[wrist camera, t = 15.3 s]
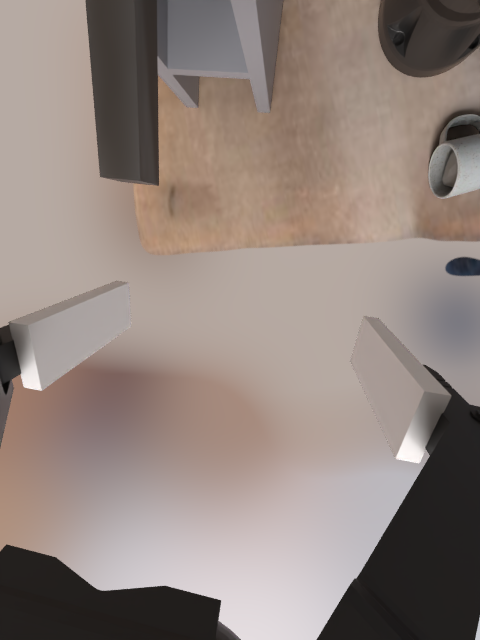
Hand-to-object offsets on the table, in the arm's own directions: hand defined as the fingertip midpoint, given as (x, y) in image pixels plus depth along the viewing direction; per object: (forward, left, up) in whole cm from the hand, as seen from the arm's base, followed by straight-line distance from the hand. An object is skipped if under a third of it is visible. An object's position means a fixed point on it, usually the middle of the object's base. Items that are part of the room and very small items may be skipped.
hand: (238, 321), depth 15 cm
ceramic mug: (-27, -17, -39) cm, 50 cm away
